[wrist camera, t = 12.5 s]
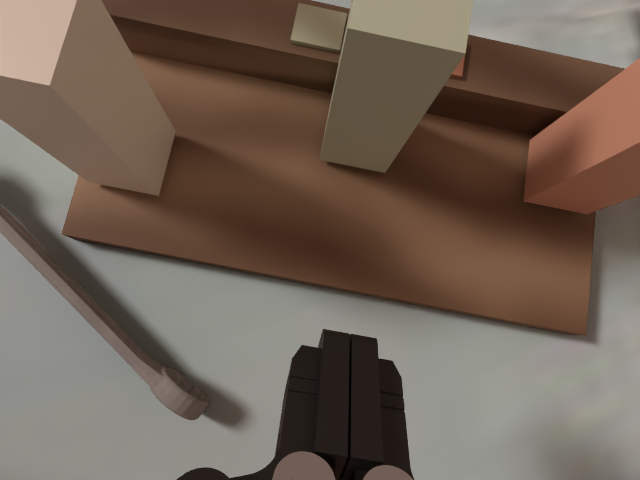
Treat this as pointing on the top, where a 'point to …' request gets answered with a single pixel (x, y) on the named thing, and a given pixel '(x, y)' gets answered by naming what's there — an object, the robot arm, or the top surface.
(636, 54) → the top surface
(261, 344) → the top surface
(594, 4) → the top surface
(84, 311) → the combination wrench
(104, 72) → the tan upright block
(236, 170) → the brown wooden base
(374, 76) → the sage key
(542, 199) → the terracotta key
